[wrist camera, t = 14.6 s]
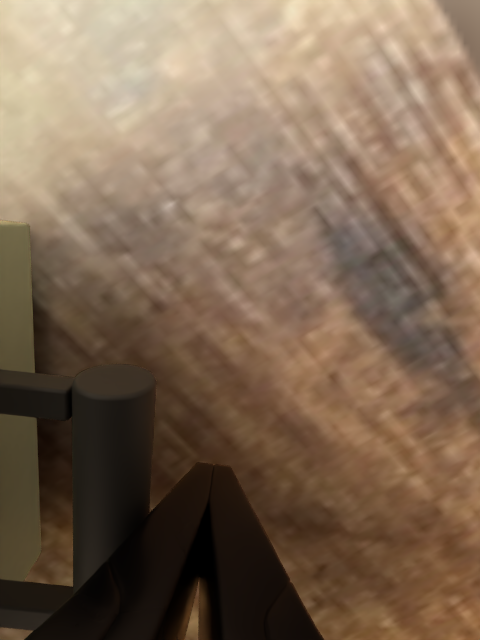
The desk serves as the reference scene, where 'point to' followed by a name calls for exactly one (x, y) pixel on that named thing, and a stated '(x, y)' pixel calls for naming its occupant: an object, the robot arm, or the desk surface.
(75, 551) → the cabinet drawer
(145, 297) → the desk surface
